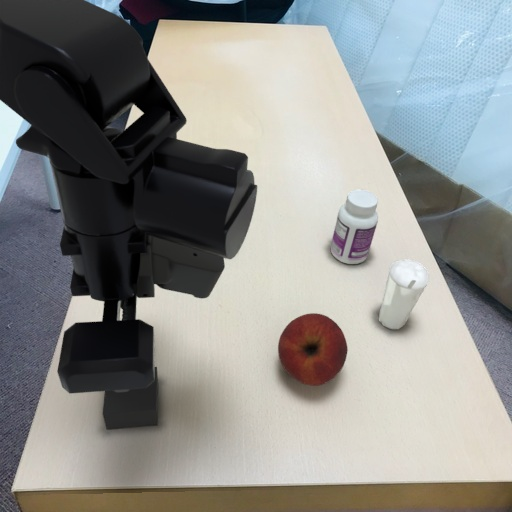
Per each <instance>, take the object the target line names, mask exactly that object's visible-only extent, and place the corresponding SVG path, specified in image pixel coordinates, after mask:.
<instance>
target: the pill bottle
mask: <svg viewBox="0 0 512 512" xmlns="http://www.w3.org/2000/svg"><path fill="white" fill-rule="evenodd" d="M378 200H379V199H378V197H377V195H376V194H374V193H373V192H371V191H369V190H367V189H361V188H360V189H353V190H350V191H349V192H348V194H347V196H346V200H345V203H344V204H342V205H341V206H340V207H339V209H338V212H337V217H336V222H335V225H334V231H333V234H332V239H331V244H330V252H331V254H332V255H333V258H335V259H336V260H338V261H339V262H341V263H344V264H347V265H357V264H361V263H363V262H364V261H366V260H367V258H368V256H369V254H370V253H369V252H370V249H371V246H372V241H373V239H374V235H375V232H376V229H377V225H378V224H379V223H378V222H379V215H378V212H377V207H378V203H379V201H378Z"/></svg>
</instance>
